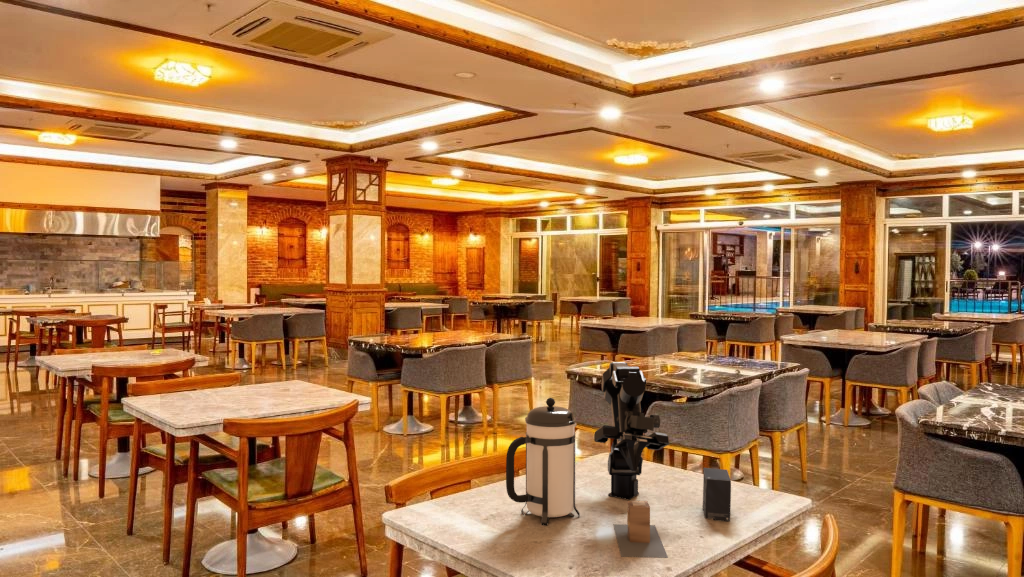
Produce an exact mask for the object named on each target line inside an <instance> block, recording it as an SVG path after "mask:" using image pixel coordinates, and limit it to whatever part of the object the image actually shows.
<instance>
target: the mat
mask: <svg viewBox="0 0 1024 577" xmlns="http://www.w3.org/2000/svg"><path fill="white" fill-rule="evenodd" d="M613 528H614V529H613V530H614V534H615V537H616V541H617V545H618V548H619V555H620V558H649V559H650V558H652V559H655V558H657V559H669V556H668V554H667V551H666V549H665V546H664V544H663V541H662V539H661V536H660V535H659V532H658V530H657V527H656V524H650V543H640V542H630V541H629V538H628V524H622V523H620V524H617V523H615V524H614V523H613Z"/></svg>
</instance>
